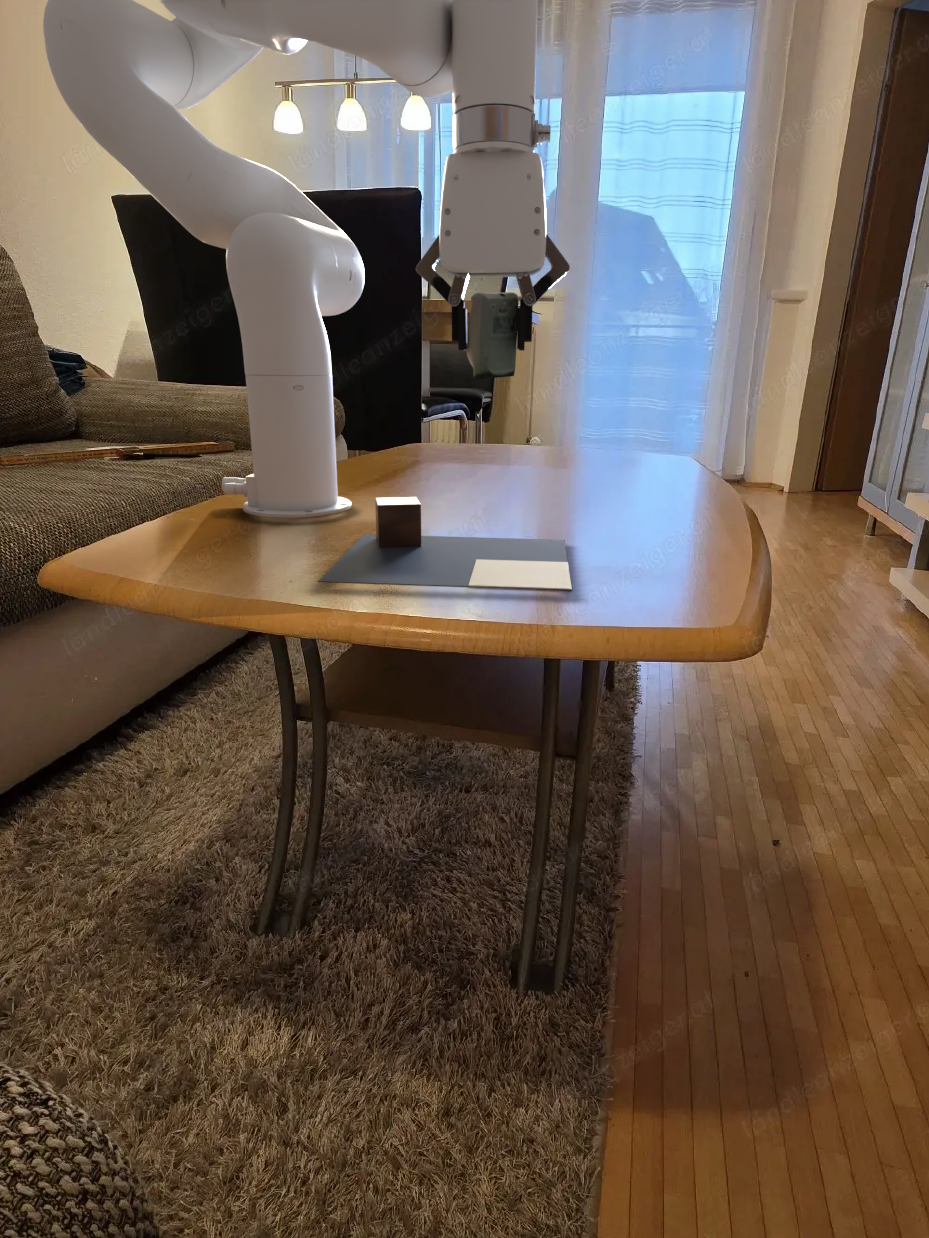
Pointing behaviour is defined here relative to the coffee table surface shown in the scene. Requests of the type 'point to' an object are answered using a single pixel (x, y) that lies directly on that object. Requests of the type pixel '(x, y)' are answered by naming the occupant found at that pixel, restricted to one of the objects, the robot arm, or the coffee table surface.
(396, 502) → the walnut block
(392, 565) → the mat
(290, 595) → the coffee table surface
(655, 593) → the coffee table surface
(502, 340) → the grey charger brick
